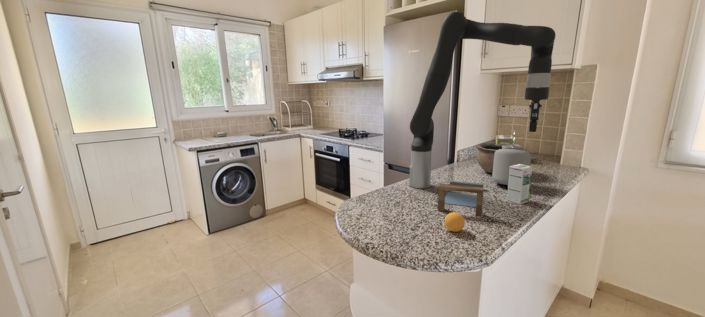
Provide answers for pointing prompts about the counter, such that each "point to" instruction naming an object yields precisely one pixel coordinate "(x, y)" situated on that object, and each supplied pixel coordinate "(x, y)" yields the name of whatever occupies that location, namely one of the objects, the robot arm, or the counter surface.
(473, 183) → the stopper
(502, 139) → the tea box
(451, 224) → the ball
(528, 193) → the syrup box
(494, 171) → the jar
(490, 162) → the ceramic bowl
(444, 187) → the bridge
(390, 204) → the counter surface
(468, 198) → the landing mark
